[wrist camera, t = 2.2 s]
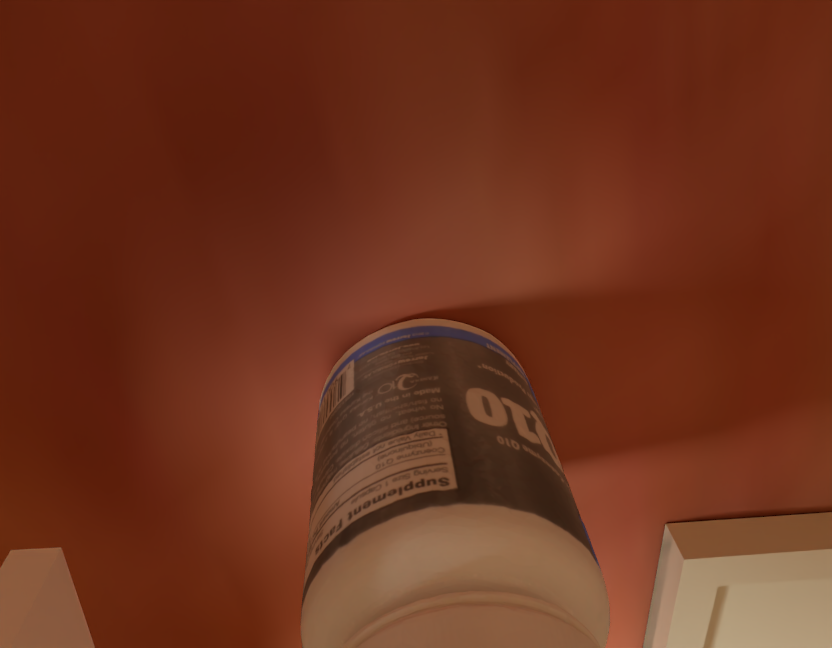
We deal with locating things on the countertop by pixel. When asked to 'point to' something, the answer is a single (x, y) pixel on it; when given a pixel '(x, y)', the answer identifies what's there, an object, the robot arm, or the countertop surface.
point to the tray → (744, 584)
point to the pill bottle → (443, 504)
